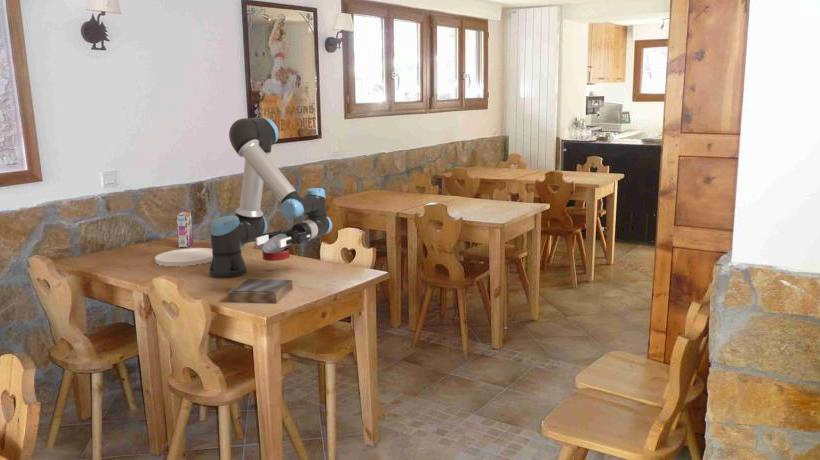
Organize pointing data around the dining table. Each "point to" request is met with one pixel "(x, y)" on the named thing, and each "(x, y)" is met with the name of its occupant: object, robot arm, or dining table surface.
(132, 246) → the dining table surface
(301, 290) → the dining table surface
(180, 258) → the plate
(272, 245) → the canned food
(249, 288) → the display podium
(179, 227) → the candy bar box
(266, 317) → the dining table surface
